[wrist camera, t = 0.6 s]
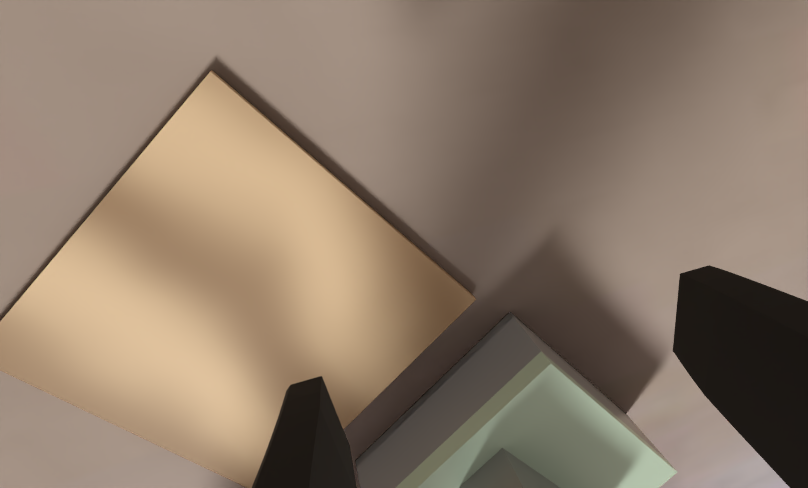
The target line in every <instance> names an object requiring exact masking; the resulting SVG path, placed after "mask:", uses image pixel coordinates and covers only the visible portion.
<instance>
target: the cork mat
mask: <svg viewBox="0 0 808 488" xmlns="http://www.w3.org/2000/svg"><path fill="white" fill-rule="evenodd" d="M475 300H476V299H475V297H474V296H473V295H472V294H471V293H470V292H469V291H468V290H467V289H465V288H464V287H463V286H462V285H461V284H460V283H459V282H457V281H456V280H455V279H454V278H453V277H452V276H450V275H449V274H448V273H447V272H446V271H445V270H443V269H442V268H441V267H440V266H439V265H438V264H436V263H435V262H434V261H433V260H432V259H431V258H429V257H428V256H427V255H426V254H425V253H424V252H423V251H421V250H420V249H419V248H418V247H417V246H416V245H414V244H413V243H412V242H411V241H410V240H409V239H407V238H406V237H405V236H404V235H403V234H402V233H400V232H399V231H398V230H397V229H396V228H395V227H393V226H392V225H391V224H390V223H389V222H388V221H387V220H385V219H384V218H383V217H382V216H381V215H380V214H378V213H377V212H376V211H375V210H374V209H373V208H371V207H370V206H369V205H368V204H367V203H366V202H364V201H363V200H362V199H361V198H360V197H359V196H357V195H356V194H355V193H354V192H353V191H352V190H351V189H349V188H348V187H347V186H346V185H345V184H344V183H342V182H341V181H340V180H339V179H338V178H337V177H335V176H334V175H333V174H332V173H331V172H330V171H328V170H327V169H326V168H325V167H324V166H323V165H321V164H320V163H319V162H318V161H317V160H316V159H314V158H313V157H312V156H311V155H310V154H309V153H308V152H306V151H305V150H304V149H303V148H302V147H301V146H299V145H298V144H297V143H296V142H295V141H294V140H292V139H291V138H290V137H289V136H288V135H287V134H285V133H284V132H283V131H282V130H281V129H280V128H278V127H277V126H276V125H275V124H274V123H273V122H272V121H270V120H269V119H268V118H267V117H266V116H265V115H263V114H262V113H261V112H260V111H259V110H258V109H256V108H255V107H254V106H253V105H252V104H251V103H249V102H248V101H247V100H246V99H245V98H244V97H242V96H241V95H240V94H239V93H238V92H237V91H236V90H234V89H233V88H232V87H231V86H230V85H229V84H227V83H226V82H225V81H224V80H223V79H222V78H220V77H219V76H218V75H217V74H216V73H215V72H213V71H210V72H209V74H208V75H207V76H206V77H205V78H204V80H203V81H202V82H201V83H200V84H199V86H198V87H197V88H196V89H195V90H194V92H193V93H192V94H191V95H190V96H189V97H188V99H187V100H186V101H185V102H184V103H183V105H182V106H181V107H180V108H179V109H178V111H177V112H176V113H175V114H174V115H173V117H172V118H171V119H170V120H169V121H168V122H167V124H166V125H165V126H164V127H163V128H162V130H161V131H160V132H159V133H158V134H157V136H156V137H155V138H154V139H153V140H152V142H151V143H150V144H149V145H148V146H147V147H146V149H145V150H144V151H143V152H142V153H141V155H140V156H139V157H138V158H137V159H136V161H135V162H134V163H133V164H132V165H131V167H130V168H129V169H128V170H127V171H126V172H125V174H124V175H123V176H122V177H121V178H120V180H119V181H118V182H117V183H116V184H115V186H114V187H113V188H112V189H111V190H110V192H109V193H108V194H107V195H106V196H105V197H104V199H103V200H102V201H101V202H100V203H99V205H98V206H97V207H96V208H95V209H94V211H93V212H92V213H91V214H90V215H89V217H88V218H87V219H86V220H85V221H84V222H83V224H82V225H81V226H80V227H79V228H78V230H77V231H76V232H75V233H74V234H73V236H72V237H71V238H70V239H69V240H68V242H67V243H66V244H65V245H64V246H63V248H62V249H61V250H60V251H59V252H58V253H57V255H56V256H55V257H54V258H53V259H52V261H51V262H50V263H49V264H48V265H47V267H46V268H45V269H44V270H43V271H42V273H41V274H40V275H39V276H38V277H37V278H36V280H35V281H34V282H33V283H32V284H31V286H30V287H29V288H28V289H27V290H26V292H25V293H24V294H23V295H22V296H21V298H20V299H19V300H18V301H17V302H16V303H15V305H14V306H13V307H12V308H11V309H10V311H9V312H8V313H7V314H6V315H5V317H4V318H3V319H2V320H1V321H0V371H3V372H5V373H7V374H9V375H11V376H13V377H15V378H17V379H19V380H21V381H24V382H26V383H28V384H30V385H32V386H34V387H36V388H38V389H40V390H42V391H45V392H47V393H49V394H51V395H53V396H55V397H57V398H59V399H61V400H63V401H66V402H68V403H70V404H72V405H74V406H76V407H78V408H80V409H82V410H84V411H87V412H89V413H91V414H93V415H95V416H97V417H99V418H101V419H103V420H105V421H108V422H110V423H112V424H114V425H116V426H118V427H120V428H122V429H124V430H126V431H129V432H131V433H133V434H135V435H137V436H139V437H141V438H143V439H145V440H148V441H150V442H152V443H154V444H156V445H158V446H160V447H162V448H164V449H166V450H169V451H171V452H173V453H175V454H177V455H179V456H181V457H183V458H185V459H187V460H190V461H192V462H194V463H196V464H198V465H200V466H202V467H204V468H206V469H208V470H211V471H213V472H215V473H217V474H219V475H221V476H223V477H225V478H227V479H229V480H232V481H234V482H236V483H238V484H240V485H242V486H244V487H246V488H252V485H253V483H254V480H255V478H256V475H257V473H258V470H259V468H260V465H261V463H262V460H263V458H264V455H265V453H266V450H267V447H268V444H269V442H270V439H271V436H272V433H273V430H274V428H275V425H276V422H277V419H278V416H279V413H280V410H281V406H282V403H283V400H284V397H285V393H286V391H287V389H288V388H289V386H290V385H291V384H295V383H298V382H302V381H305V380H309V379H312V378H316V377H319V376H322V378H323V380H324V383H325V385H326V388H327V390H328V393H329V395H330V398H331V400H332V403H333V405H334V408H335V410H336V413H337V415H338V418H339V420H340V423H341V425H342V428H343V429H344V428H345V427H347V426H348V425H349V424H350V423H351V422H352V421H353V420H354V419H355V418H356V417H357V416H358V415H359V414H360V413H361V412H362V411H363V410H364V409H365V408H366V407H367V406H368V405H369V404H370V403H371V402H372V401H373V400H374V399H375V398H376V397H377V396H378V395H379V394H380V393H381V392H382V391H383V390H384V389H385V388H386V387H387V386H388V385H389V384H390V383H391V382H392V381H393V380H394V379H395V378H396V377H398V376H399V375H400V374H401V373H402V372H403V371H404V370H405V369H406V368H407V367H408V366H409V365H410V364H411V363H412V362H413V361H414V360H415V359H416V358H417V357H418V356H419V355H420V354H421V353H422V352H423V351H424V350H425V349H426V348H427V347H428V346H429V345H430V344H431V343H432V342H433V341H434V340H435V339H436V338H437V337H438V336H439V335H440V334H441V333H442V332H443V331H444V330H445V329H446V328H448V327H449V326H450V325H451V324H452V323H453V322H454V321H455V320H456V319H457V318H458V317H459V316H460V315H461V314H462V313H463V312H464V311H465V310H466V309H467V308H468V307H469V306H470V305H471V304H472V303H473V302H474V301H475Z"/></svg>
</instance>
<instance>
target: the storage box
mask: <svg viewBox="0 0 808 488" xmlns="http://www.w3.org/2000/svg"><path fill="white" fill-rule="evenodd" d="M541 351H542V352H543V353H544V354H545V355H546V356H547V357H548V358H550V359H551V360H552V361H553V362H554V363H555V364H557V365H558V366H559V367H560V368H561V369H562V370H563V371H565V372H566V373H567V374H568V375H569V376H570V377H572V378H573V379H574V380H575V381H576V382H577V383H579V384H580V385H581V386H582V387H583V388H584V389H585V390H587V391H588V392H589V393H590V394H591V395H592V396H594V397H595V398H596V399H597V400H598V401H599V402H601V403H602V404H603V405H604V406H605V407H606V408H607V409H609V410H610V411H611V412H612V413H613V414H614V415H616V416H617V417H618V418H619V419H620V420H621V421H622V422H624V423H625V424H626V425H627V426H628V427H629V428H631V429H632V430H633V431H634V432H635V433H636V434H638V435H639V436H640V437H641V438H642V439H643V440H644V441H646V442H647V443H648V444H649V445H650V446H651V447H653V448H654V449H655V450H656V451H657V452H658V453H660V452H659V451H658V450H657V448H656V447H655V446H654V445H653V444H652V443H651V442H650V441H649V439H648V438H647V437H646V436H645V435H644V434H643V433H642V431H641V430H640V429H639V428H638V427H637V426H636V425H635V424H634V422H633V421H632V420H631V419H630V418H629V417H628V416H627V415H626V414H625V413H624V412H623V411H622V410H621V409H620V408H619V407H617V406H616V405H615V404H614V403H613V402H612V401H611V400H609V399H608V398H607V397H606V396H605V395H604V394H603V393H602V392H600V391H599V390H598V389H597V388H596V387H595V386H594V385H592V384H591V383H590V382H589V381H588V380H587V379H586V378H584V377H583V376H582V375H581V374H580V373H579V372H578V371H577V370H575V369H574V368H573V367H572V366H571V365H570V364H569V363H567V362H566V361H565V360H564V359H563V358H562V357H561V356H560V355H558V354H557V353H556V352H555V351H554V350H553V349H552V348H550V347H549V346H548V345H547V344H546V343H545V342H544V341H542V340H541V339H540V338H539V337H538V336H537V335H536V334H535V333H533V332H532V331H531V330H530V329H529V328H528V327H527V326H525V325H524V324H523V323H522V322H521V321H520V320H519V319H518V318H516V317H515V316H514V315H513V314H512V313H511V312H509V313H508V314H507V315H506V316H505V317H504V318H503V319H502V320H501V321H500V322H499V323H498V324H497V325H496V326H495V327H494V328H493V329H492V330H491V331H490V332H489V333H488V334H487V335H486V336H485V337H484V338H482V339H481V340H480V341H479V342H478V343H477V344H476V345H475V346H474V347H473V348H472V349H471V350H470V351H469V352H468V353H467V354H466V355H465V356H464V357H463V358H462V359H461V360H460V361H459V362H458V363H457V364H455V365H454V366H453V367H452V368H451V369H450V370H449V371H448V372H447V373H446V374H445V375H444V376H443V377H442V378H441V379H440V380H439V381H438V382H437V383H436V384H435V385H434V386H433V387H432V388H431V389H430V390H428V391H427V392H426V393H425V394H424V395H423V396H422V397H421V398H420V399H419V400H418V401H417V402H416V403H415V404H414V405H413V406H412V407H411V408H410V409H409V410H408V411H407V412H406V413H405V414H404V415H402V416H401V417H400V418H399V419H398V420H397V421H396V422H395V423H394V424H393V425H392V426H391V427H390V428H389V429H388V430H387V431H386V432H385V433H384V434H383V435H382V436H381V437H380V438H379V439H378V440H377V441H375V442H374V443H373V444H372V445H371V446H370V447H369V448H368V449H367V450H366V451H365V452H364V453H363V454H362V455H361V456H360V457H359V458H358V459H357V460H356V466H357V472H358V478H359V484H360V488H396V487H397V486H398V485H399V484H400V483H401V482H402V481H403V480H404V479H405V478H406V477H407V476H408V475H410V474H411V473H412V472H413V471H414V470H415V469H416V468H417V467H418V466H419V465H420V464H421V463H422V462H423V461H425V460H426V459H427V458H428V457H429V456H430V455H431V454H432V453H433V452H434V451H435V450H436V449H437V448H438V447H439V446H441V445H442V444H443V443H444V442H445V441H446V440H447V439H448V438H449V437H450V436H451V435H452V434H453V433H454V432H455V431H457V430H458V429H459V428H460V427H461V426H462V425H463V424H464V423H465V422H466V421H467V420H468V419H469V418H470V417H471V416H473V415H474V414H475V413H476V412H477V411H478V410H479V409H480V408H481V407H482V406H483V405H484V404H485V403H486V402H487V401H489V400H490V399H491V398H492V397H493V396H494V395H495V394H496V393H497V392H498V391H499V390H500V389H501V388H502V387H504V386H505V385H506V384H507V383H508V382H509V381H510V380H511V379H512V378H513V377H514V376H515V375H516V374H517V373H518V372H520V371H521V370H522V369H523V368H524V367H525V366H526V365H527V364H528V363H529V362H530V361H531V360H532V359H533V358H534V357H536V356H537V355H538V354H539V353H540V352H541ZM660 454H661V453H660ZM661 455H662V454H661ZM662 456H663V455H662ZM663 457H664V456H663Z"/></svg>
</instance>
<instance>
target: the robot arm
mask: <svg viewBox="0 0 808 488" xmlns="http://www.w3.org/2000/svg"><path fill="white" fill-rule="evenodd" d="M673 352H674V353H675V355H676V356H677V357H678V359H679V360H680V362H681V363H682V365H683V366H684V368H685V369H686V370H687V372H688V373H689V375H690V376H691V377H692V379H693V380H694V382H695V383H696V384H697V386H698V387H699V388H700V390H701V391H702V392H703V394H704V395H705V396H706V397H707V398H708V399H709V401H710V402H711V403H712V404H713V405H714V406H715V407H716V408H717V409H718V410H719V412H720V413H721V414H722V415H723V416H724V417H725V418H726V419H727V420H728V421H729V422H730V424H731V425H732V426H733V427H734V428H735V429H736V430H737V431H738V432H739V433H740V434H741V435H742V437H743V438H744V439H745V440H746V441H747V442H748V443H749V444H750V445H751V446H752V447H753V448H754V449H755V451H756V452H757V453H758V454H759V455H760V456H761V457H762V458H763V459H764V460H765V461H766V462H767V463H768V464H769V466H770V467H771V468H772V469H773V470H774V471H775V472H776V473H777V474H778V475H779V476H780V477H781V478H782V479H783V481H784V482H785V483H786V484H787V485H788V486H789V487H790V488H808V301H806V300H803V299H800V298H798V297H795V296H792V295H790V294H787V293H784V292H782V291H779V290H776V289H774V288H771V287H768V286H766V285H763V284H761V283H758V282H755V281H752V280H750V279H747V278H744V277H742V276H739V275H736V274H733V273H731V272H728V271H725V270H722V269H719V268H716V267H712V266H706V267H702V268H699V269H695V270H692V271H688V272H685V273H681V274H680V280H679V291H678V302H677V312H676V323H675V334H674V345H673ZM252 488H356V482H355V476H354V470H353V463H352V457H351V451H350V445H349V443H348V440H347V438H346V435H345V433H344V430H343V428H342V425H341V423H340V420H339V418H338V415H337V413H336V410H335V408H334V405H333V403H332V400H331V398H330V395H329V393H328V390H327V388H326V385H325V383H324V380H323V378H322V376H319V377H316V378H312V379H309V380H305V381H302V382H298V383H295V384H291V385H290V386H289V388H288V389H287V391H286V393H285V397H284V400H283V403H282V406H281V410H280V413H279V416H278V419H277V422H276V425H275V428H274V430H273V433H272V436H271V439H270V442H269V444H268V447H267V450H266V453H265V455H264V458H263V460H262V463H261V465H260V468H259V470H258V473H257V475H256V478H255V480H254V483H253V485H252Z"/></svg>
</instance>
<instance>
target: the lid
mask: <svg viewBox="0 0 808 488" xmlns="http://www.w3.org/2000/svg"><path fill="white" fill-rule="evenodd" d="M676 473H677V471H676V470H675V469H674V468H673V467H672V465H671V464H670V463H669V462H668V461H667V460H666V459H665V458H664V457H663V456H662V455H661V454H660V453H658V452H657V451H656V450H655V449H654V448H653V447H651V446H650V445H649V444H648V443H647V442H646V441H644V440H643V439H642V438H641V437H640V436H639V435H638V434H636V433H635V432H634V431H633V430H632V429H631V428H629V427H628V426H627V425H626V424H625V423H624V422H622V421H621V420H620V419H619V418H618V417H617V416H616V415H614V414H613V413H612V412H611V411H610V410H609V409H607V408H606V407H605V406H604V405H603V404H602V403H601V402H599V401H598V400H597V399H596V398H595V397H594V396H592V395H591V394H590V393H589V392H588V391H587V390H585V389H584V388H583V387H582V386H581V385H580V384H579V383H577V382H576V381H575V380H574V379H573V378H572V377H570V376H569V375H568V374H567V373H566V372H565V371H563V370H562V369H561V368H560V367H559V366H558V365H557V364H555V363H554V362H553V361H552V360H551V359H550V358H548V357H547V356H546V355H545V354H544V353H543V352H542V351H541V352H540V353H539V354H538V355H537V356H536V357H534V358H533V359H532V360H531V361H530V362H529V363H528V364H527V365H526V366H525V367H524V368H523V369H522V370H521V371H520V372H518V373H517V374H516V375H515V376H514V377H513V378H512V379H511V380H510V381H509V382H508V383H507V384H506V385H505V386H504V387H502V388H501V389H500V390H499V391H498V392H497V393H496V394H495V395H494V396H493V397H492V398H491V399H490V400H489V401H487V402H486V403H485V404H484V405H483V406H482V407H481V408H480V409H479V410H478V411H477V412H476V413H475V414H474V415H473V416H471V417H470V418H469V419H468V420H467V421H466V422H465V423H464V424H463V425H462V426H461V427H460V428H459V429H458V430H457V431H455V432H454V433H453V434H452V435H451V436H450V437H449V438H448V439H447V440H446V441H445V442H444V443H443V444H442V445H441V446H439V447H438V448H437V449H436V450H435V451H434V452H433V453H432V454H431V455H430V456H429V457H428V458H427V459H426V460H425V461H423V462H422V463H421V464H420V465H419V466H418V467H417V468H416V469H415V470H414V471H413V472H412V473H411V474H410V475H408V476H407V477H406V478H405V479H404V480H403V481H402V482H401V483H400V484H399V485H398V486H397V487H396V488H659V487H661V486H662V485H663V484H664V483H665V482H666V481H668V480H669V479H670V478H671V477H672V476H673V475H675V474H676Z"/></svg>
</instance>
